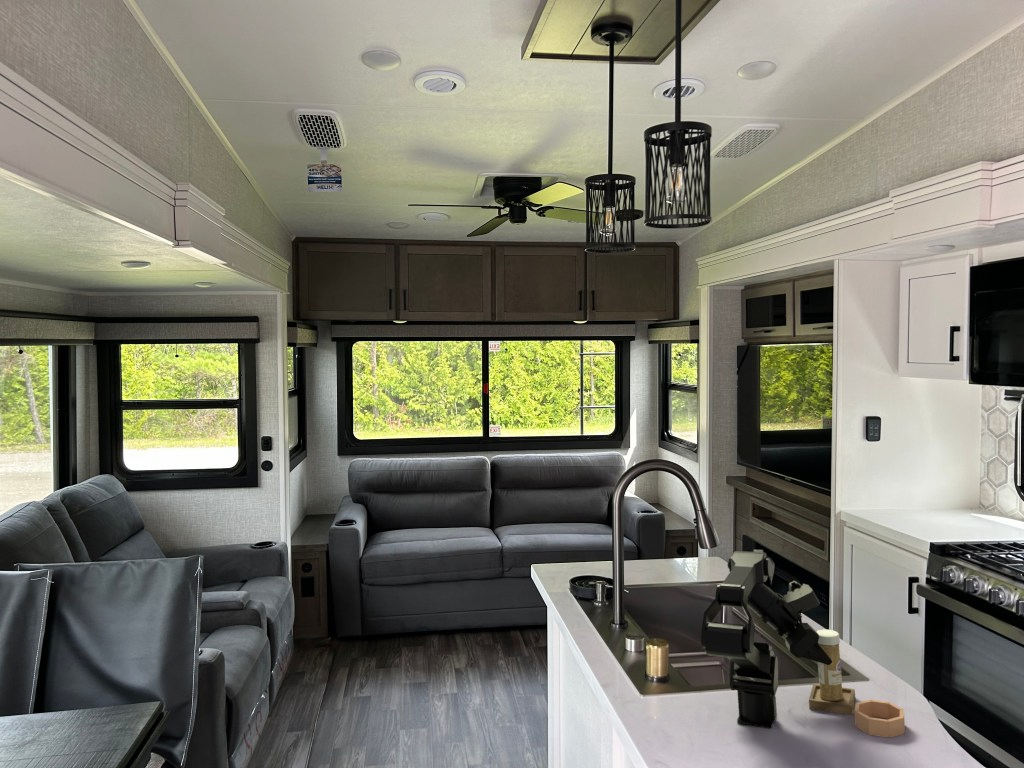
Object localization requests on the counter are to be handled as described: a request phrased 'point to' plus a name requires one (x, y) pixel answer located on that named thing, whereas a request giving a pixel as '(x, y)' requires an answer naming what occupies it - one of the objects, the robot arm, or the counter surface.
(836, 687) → the sprinkles bottle
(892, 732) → the holder ring
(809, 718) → the counter surface
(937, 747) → the counter surface
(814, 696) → the walnut tray
